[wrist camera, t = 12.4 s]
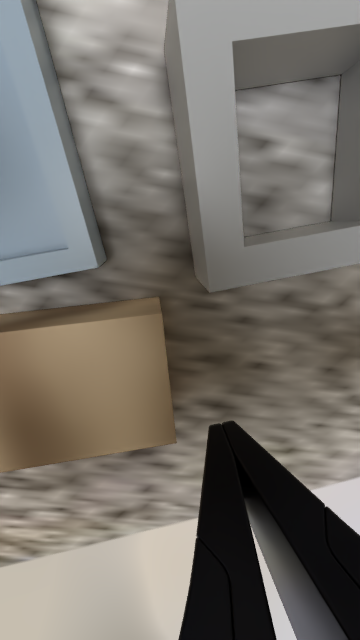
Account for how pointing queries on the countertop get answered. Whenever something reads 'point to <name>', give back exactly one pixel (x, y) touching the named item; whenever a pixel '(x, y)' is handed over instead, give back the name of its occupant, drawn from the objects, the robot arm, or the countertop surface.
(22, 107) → the tray
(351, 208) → the socket block
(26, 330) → the board
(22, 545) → the countertop surface
